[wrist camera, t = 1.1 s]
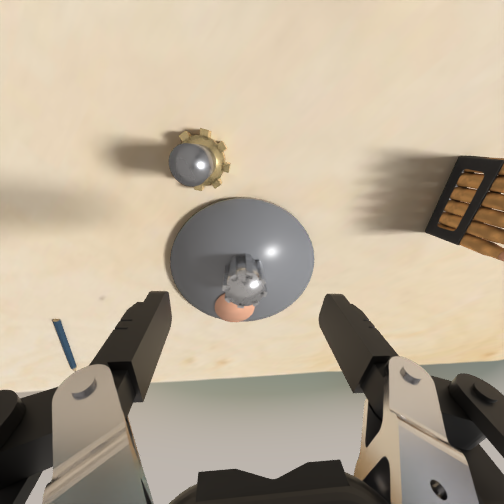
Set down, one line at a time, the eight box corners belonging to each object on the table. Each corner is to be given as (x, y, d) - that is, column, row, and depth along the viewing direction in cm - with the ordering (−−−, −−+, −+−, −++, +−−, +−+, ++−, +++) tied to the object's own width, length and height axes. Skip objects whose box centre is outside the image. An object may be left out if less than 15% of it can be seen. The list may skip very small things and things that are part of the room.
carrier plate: (176, 180, 25) (160, 188, 19) (334, 215, 28) (356, 231, 23) (169, 309, 34) (156, 338, 29) (287, 323, 38) (295, 352, 33)
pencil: (61, 317, 34) (79, 369, 41) (55, 317, 34) (74, 369, 41) (57, 321, 33) (76, 373, 40) (51, 321, 33) (71, 373, 40)
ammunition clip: (435, 232, 31) (539, 276, 20) (424, 232, 31) (523, 276, 20) (472, 156, 26) (637, 161, 15) (459, 155, 26) (615, 161, 15)
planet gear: (178, 122, 22) (150, 110, 15) (234, 138, 23) (233, 133, 16) (175, 181, 25) (150, 194, 18) (225, 192, 26) (220, 209, 19)
